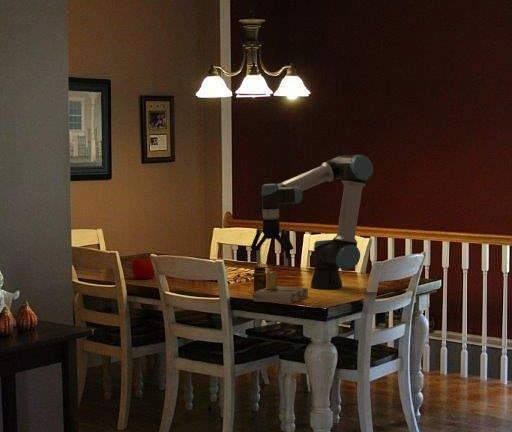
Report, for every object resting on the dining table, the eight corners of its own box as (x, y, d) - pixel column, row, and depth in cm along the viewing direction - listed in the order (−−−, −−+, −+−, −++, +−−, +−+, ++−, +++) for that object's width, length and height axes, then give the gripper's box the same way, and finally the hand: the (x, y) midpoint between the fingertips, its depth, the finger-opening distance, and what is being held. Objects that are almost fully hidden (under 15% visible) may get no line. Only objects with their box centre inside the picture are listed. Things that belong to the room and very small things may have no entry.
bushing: (269, 297, 452) (269, 271, 451) (278, 298, 451) (278, 271, 450) (265, 298, 449) (265, 272, 448) (274, 299, 447) (274, 273, 446)
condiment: (266, 293, 464) (265, 268, 463) (248, 293, 465) (248, 268, 464) (268, 291, 471) (268, 266, 470) (250, 291, 472) (250, 266, 471)
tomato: (137, 276, 527) (136, 255, 526) (160, 277, 523) (160, 255, 523) (128, 280, 515) (127, 257, 514) (152, 280, 512) (151, 258, 511)
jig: (272, 294, 461) (272, 286, 460) (307, 296, 453) (307, 288, 452) (253, 301, 443) (252, 292, 442) (289, 303, 435) (289, 294, 434)
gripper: (242, 218, 449) (244, 265, 451) (292, 219, 438) (294, 267, 440) (249, 217, 456) (251, 263, 457) (299, 217, 445) (301, 264, 447)
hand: (272, 265), depth 449 cm, fingers open, 13 cm apart
